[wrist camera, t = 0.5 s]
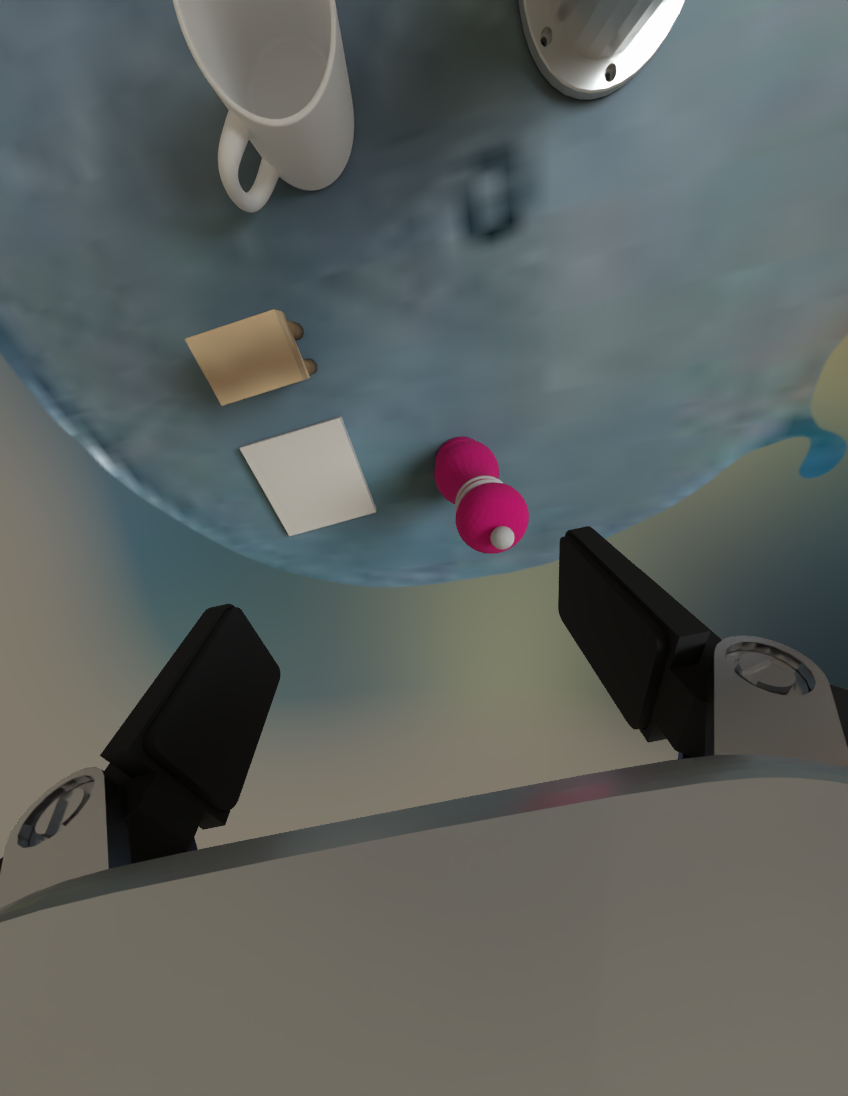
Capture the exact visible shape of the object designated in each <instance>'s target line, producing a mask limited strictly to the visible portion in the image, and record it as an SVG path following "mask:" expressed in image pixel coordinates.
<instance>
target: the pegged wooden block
mask: <svg viewBox="0 0 848 1096" xmlns="http://www.w3.org/2000/svg"><path fill="white" fill-rule="evenodd" d="M303 334H304V331H303V328H302V326H301V325H300V324H298V323H295V322H291V321H287V319H286V317H285V314H284V312H282V311H278V310H275V309H273V310H270V311H267V312H264V313H261V314H258V315H255V316H252V317H249V318H246V319H243V320H240V321H237V322H234V323H231V324H228V325H225V326H222V327H219V328H216V329H213V330H210V331H207V332H204V333H201V334H198V335H195V336H192V337H189V338H186V339H185V341H186V343H187V345H188V346H189V348H190V350H191V352H192V353H193V355H194V357H195V359H196V361H197V362H198V364H199V366H200V368H201V370H202V371H203V373H204V375H205V377H206V379H207V380H208V382H209V384H210V386H211V387H212V389H213V391H214V393H215V395H216V396H217V398H218V400H219V402H220V404H221V405H222V406H223V405H226V404H229V403H232V402H236V401H239V400H242V399H245V398H248V397H252V396H255V395H258V394H261V393H264V392H267V391H271V390H274V389H277V388H280V387H283V386H287V385H290V384H293V383H296V382H299V381H302V380H305V379H308V378H310V376H309V375H311V374H314V373H315V372H316V371H317V364H316V362H315V361H314V360H312V359H304V360H303V359H302V356H301V354H300V352H299V349H298V347H297V344H296V342H295V339H301V338H302V337H303Z"/></svg>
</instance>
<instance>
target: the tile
mask: <svg viewBox="0 0 848 1096" xmlns="http://www.w3.org/2000/svg"><path fill="white" fill-rule="evenodd" d="M240 450H241V452H242V454H243V455H244V457H245V459H246V461H247V463H248V464H249V466H250V468H251V470H252V471H253V473H254V475H255V477H256V478H257V480H258V482H259V484H260V485H261V487H262V489H263V491H264V492H265V494H266V496H267V498H268V499H269V501H270V503H271V505H272V506H273V508H274V510H275V512H276V514H277V515H278V517H279V519H280V521H281V522H282V524H283V526H284V528H285V529H286V531H287V533H288V535H289V536H293V535H296V534H300V533H303V532H307V531H311V530H314V529H318V528H321V527H325V526H329V525H332V524H336V523H339V522H343V521H347V520H350V519H354V518H357V517H361V516H365V515H368V514H372V513H375V512H376V506H375V504H374V501H373V498H372V496H371V493H370V490H369V488H368V485H367V482H366V480H365V477H364V475H363V472H362V469H361V467H360V464H359V461H358V459H357V456H356V453H355V451H354V448H353V446H352V443H351V440H350V438H349V435H348V432H347V430H346V427H345V425H344V422H343V419H342V417H341V416H339V417H336V418H332V419H329V420H326V421H323V422H319V423H316V424H313V425H309V426H306V427H303V428H299V429H296V430H293V431H290V432H286V433H283V434H280V435H276V436H273V437H270V438H266V439H263V440H260V441H257V442H253V443H250V444H247V445H243V446H242V447H240Z"/></svg>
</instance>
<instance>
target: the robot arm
mask: <svg viewBox="0 0 848 1096" xmlns="http://www.w3.org/2000/svg"><path fill="white" fill-rule="evenodd" d="M518 1H519V10H520V15H521V21H522V26H523V32H524V35H525V38H526V41H527V44H528V47H529V50H530V53H531V55H532V57H533V59H534V61H535V63H536V65H537V66H538V68H539V70H540V72H541V73H542V74H543V76H544V77H545V78H546V79H547V80H548V82H549V83H550V84H551V85H552V86H553V87H555V88H556V89H557V90H559V91H560V92H561V93H563V94H564V95H567V96H570V97H573V98H576V99H596V98H600V97H603V96H607V95H609V94H611V93H612V92H614V91H616V90H618V89H619V88H621V87H623V86H624V85H625V84H626V83H628V82H629V81H630V80H631V79H632V78H633V77H634V76H636V75H637V74H638V73H639V72H640V70H641V69H642V68H643V67H644V66H645V65H646V64H647V63H648V61H649V60H650V59H651V58H652V57H653V56H654V54H655V53H656V51H657V50H658V49H659V47H660V46H661V45H662V43H663V42H664V40H665V39H666V38H667V36H668V34H669V32H670V31H671V29H672V27H673V25H674V23H675V22H676V20H677V18H678V16H679V14H680V12H681V10H682V8H683V5H684V3H685V1H686V0H518ZM541 42H543V43H544V45H545V47H544V46H543V45H542V44H541ZM605 77H606V78H607V81H606V79H605ZM558 609H559V614H560V617H561V619H562V621H563V623H564V624H565V626H566V627H567V629H568V630H569V632H570V633H571V635H572V637H573V638H574V640H575V641H576V643H577V644H578V646H579V648H580V649H581V651H582V652H583V654H584V655H585V657H586V659H587V660H588V662H589V663H590V664H591V666H592V668H593V669H594V671H595V672H596V674H597V676H598V677H599V679H600V680H601V682H602V684H603V685H604V687H605V688H606V690H607V691H608V693H609V694H610V696H611V698H612V699H613V701H614V702H615V704H616V705H617V707H618V708H619V710H620V712H621V713H622V715H623V716H624V718H625V719H626V721H627V722H628V724H629V725H630V726H631V727H632V728H633V729H639V730H640V731H641V733H642V734H643V736H644V737H645V739H646V740H647V742H653V741H658V740H663V739H668V741H669V742H670V744H671V745H672V747H673V748H674V749H675V750H676V751H678V760H670V761H664V762H658V763H652V764H647V765H640V766H634V767H628V768H622V769H617V770H611V771H605V772H599V773H593V774H587V775H581V776H576V777H571V778H565V779H560V780H555V781H550V782H544V783H539V784H534V785H528V786H523V787H518V788H512V789H508V790H502V791H497V792H491V793H486V794H481V795H476V796H470V797H465V798H459V799H454V800H450V801H444V802H439V803H434V804H429V805H423V806H418V807H413V808H407V809H403V810H397V811H392V812H387V813H382V814H376V815H371V816H366V817H361V818H356V819H351V820H346V821H340V822H336V823H330V824H325V825H320V826H315V827H310V828H304V829H299V830H295V831H289V832H285V833H279V834H275V835H270V836H265V837H259V838H255V839H249V840H244V841H239V842H234V843H230V844H224V845H219V846H214V847H209V848H204V849H199V850H198V849H197V845H196V842H195V838H194V836H195V834H196V831H197V829H198V826H199V827H200V828H202V829H208V828H213V827H218V826H223V825H225V824H226V821H227V818H228V815H229V813H230V809H232V808H233V807H234V806H235V805H236V803H237V801H238V799H239V796H240V793H241V790H242V788H243V785H244V782H245V779H246V776H247V773H248V770H249V767H250V764H251V761H252V758H253V756H254V752H255V750H256V747H257V744H258V741H259V738H260V735H261V732H262V729H263V726H264V724H265V721H266V718H267V715H268V712H269V709H270V706H271V703H272V700H273V697H274V694H275V692H276V689H277V686H278V683H279V680H280V669H279V667H278V665H277V663H276V662H275V661H274V659H273V657H272V656H271V654H270V653H269V651H268V650H267V648H266V647H265V645H264V644H263V642H262V641H261V639H260V637H259V636H258V634H257V633H256V631H255V630H254V628H253V627H252V625H251V624H250V622H249V621H248V619H247V618H246V616H245V615H244V613H243V612H242V610H241V609H240V608H238V607H235V606H233V605H231V604H225V605H221V606H216V607H212V608H209V609H207V610H206V611H205V612H204V613H203V614H202V616H201V617H200V619H199V620H198V622H197V623H196V624H195V626H194V627H193V628H192V630H191V631H190V632H189V634H188V635H187V636H186V638H185V639H184V641H183V642H182V643H181V645H180V646H179V648H178V649H177V650H176V652H175V653H174V654H173V656H172V657H171V658H170V660H169V661H168V663H167V664H166V665H165V667H164V668H163V670H162V671H161V672H160V674H159V675H158V677H157V678H156V679H155V680H154V682H153V684H152V685H151V686H150V687H149V689H148V690H147V691H146V693H145V694H144V696H143V697H142V698H141V700H140V701H139V703H138V704H137V705H136V707H135V708H134V710H133V711H132V712H131V714H130V715H129V716H128V718H127V719H126V720H125V722H124V723H123V725H122V726H121V727H120V729H119V730H118V731H117V733H116V734H115V736H114V737H113V738H112V740H111V741H110V742H109V744H108V745H107V747H106V748H105V750H104V751H103V752H102V754H101V755H100V756H101V757H103V758H105V759H106V760H107V761H109V762H110V764H109V765H108V767H107V768H106V769H105V771H103V770H101V769H99V768H97V767H90V768H84V769H82V770H80V771H77V772H74V773H72V774H71V775H69V776H67V777H66V778H64V779H62V780H61V781H59V782H58V783H56V784H55V785H54V786H53V787H51V788H50V789H49V790H47V791H46V792H45V793H44V794H43V795H42V796H41V797H40V798H38V800H36V801H35V802H34V803H33V804H32V805H31V806H30V807H29V809H28V810H27V811H26V812H25V813H24V815H23V816H22V817H21V818H20V819H19V821H18V822H17V824H16V825H15V827H14V829H13V830H12V832H11V833H10V836H9V838H8V841H7V844H6V847H5V852H4V857H3V858H1V859H0V1096H848V690H846V689H842V688H839V687H836V686H833V685H830V684H829V682H828V680H827V678H826V676H825V675H824V673H823V671H822V670H821V669H820V668H819V667H817V665H815V664H814V663H813V662H812V661H811V660H810V659H808V658H807V657H805V656H804V655H802V654H801V653H799V652H798V651H796V650H793V649H791V648H789V647H787V646H785V645H783V644H780V643H778V642H774V641H771V640H768V639H765V638H759V637H753V636H733V637H729V638H726V639H723V640H721V639H720V638H719V637H718V636H717V635H715V634H714V633H713V632H712V631H711V630H710V629H709V628H708V627H706V626H705V625H704V624H703V623H702V622H700V621H699V620H698V619H697V618H696V617H695V616H694V615H692V614H691V613H690V612H689V611H688V610H687V609H686V608H684V607H683V606H682V605H681V604H680V603H679V602H677V601H676V600H675V599H674V598H673V597H672V596H671V595H669V594H668V593H667V592H666V591H665V590H664V589H662V588H661V587H660V586H659V585H658V584H657V583H656V582H654V581H653V580H652V579H651V578H650V577H649V576H647V575H646V574H645V573H644V572H643V571H641V570H640V569H639V568H638V567H636V566H635V565H634V564H633V563H632V562H631V561H630V560H628V559H627V558H626V557H625V556H624V555H622V554H621V553H620V552H619V551H618V550H617V549H615V548H614V547H613V546H612V545H611V544H610V543H609V542H608V541H607V540H605V539H604V538H603V537H602V536H601V535H600V534H598V533H597V532H596V531H595V530H594V529H593V528H591V527H590V526H587V527H582V528H578V529H573V530H568V531H567V532H566V535H565V537H562V538H561V539H560V557H559V603H558Z"/></svg>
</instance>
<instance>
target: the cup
mask: <svg viewBox="0 0 848 1096" xmlns="http://www.w3.org/2000/svg"><path fill="white" fill-rule="evenodd" d="M173 4H174V8H175V12H176V15H177V18H178V22H179V24H180V27H181V30H182V33H183V35H184V38H185V40H186V43H187V45H188V47H189V49H190V51H191V53H192V55H193V58H194V59H195V61H196V63H197V65H198V66H199V68H200V70H201V71H202V73H203V75H204V76H205V78H206V79H207V81H208V82H209V83H210V85H211V86H212V88H213V89H214V90H215V92H216V93H217V95H218V96H219V98H220V99H221V100H222V102H223V103H224V105H225V106H226V107H227V109H228V110H229V111H228V114H227V117H226V120H225V123H224V126H223V130H222V133H221V138H220V142H219V148H218V168H219V174H220V178H221V181H222V183H223V186H224V188H225V190H226V192H227V194H228V195H229V197H230V198H231V200H232V201H233V202H234V203H235V204H236V205H237V206H238V207H239V208H240V209H242V210H244V211H245V212H250V213H254V212H257V211H258V210H260V209H261V208H262V207H263V206H264V205H265V204H266V202H267V201H268V199H269V198H270V196H271V194H272V192H273V190H274V187H275V185H276V183H277V181H278V178H279V177H280V178H281V179H283V180H284V181H285V182H287V183H288V184H290V185H292V186H294V187H296V188H299V189H302V190H310V191H313V190H319V189H323V188H325V187H327V186H329V185H330V184H332V183H333V182H334V181H335V180H336V179H337V178H338V177H339V176H340V175H341V173H342V172H343V170H344V168H345V166H346V164H347V162H348V159H349V157H350V153H351V149H352V144H353V137H354V112H353V103H352V96H351V90H350V84H349V78H348V73H347V67H346V61H345V55H344V49H343V44H342V38H341V32H340V26H339V21H338V15H337V9H336V3H335V0H173ZM249 140H250V142H251V143H252V144H253V146H254V147H255V149H256V150H257V151H258V153H259V154H260V156H261V157H262V160H261V164H260V167H259V171H258V174H257V177H256V179H255V182H254V184H253V186H252V188H251V189H250V190H249V191H248V192H244V191H243V190H242V188H241V186H240V183H239V180H238V169H239V165H240V161H241V159H242V156H243V153H244V150H245V148H246V146H247V143H248V141H249Z"/></svg>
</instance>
